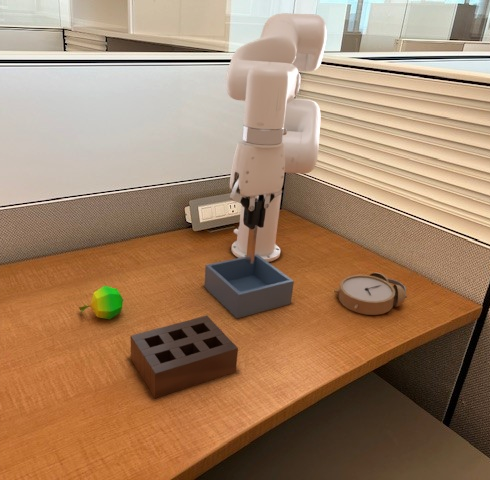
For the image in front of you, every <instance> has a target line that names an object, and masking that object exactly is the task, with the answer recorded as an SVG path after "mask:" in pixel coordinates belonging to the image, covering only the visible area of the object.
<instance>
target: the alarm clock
mask: <svg viewBox="0 0 490 480" xmlns="http://www.w3.org/2000/svg"><path fill="white" fill-rule="evenodd" d="M392 284H393V285H392ZM406 291H407V287H406V286H405V285H404V284H403V283H402V282H401V281H398V280H396V279H393V278H388V277H387V276H386V275H385V274H383V273H382V272H375V271H374V272H372V273H370V274H353V275H348V276H346V277H344V278H343V279H341V281H340V283H339V289H334V290H333V292H334V293H336V294H338V300H339V302H340V303H341V304H342V306H343V307H345V308H347V310H350V311H352V312H354V313H358V314H360V315H361V314H362V315H369V316H377V315H378V316H379V315H384V314H385V313H387V312H390V311H391V310H392V309H393V307H395V308H396V307H400V306H402V305H403V304H404V302H405V300H406V298H408V295H406Z"/></svg>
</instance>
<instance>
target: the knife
mask: <svg viewBox="0 0 490 480" xmlns="http://www.w3.org/2000/svg"><path fill="white" fill-rule="evenodd" d="M261 206H262V201H260V200H259V199H257V198H255V208H254V210H255V211H256V222H255V228H254V229H250V228H249V234H248V245H247V255H246V262H248V263H249V264H250V265H251V264H254V255H255V246H256V236H257V227H258V225H259V224H260V215H261Z"/></svg>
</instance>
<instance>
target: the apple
mask: <svg viewBox="0 0 490 480" xmlns="http://www.w3.org/2000/svg"><path fill="white" fill-rule="evenodd" d="M123 304H124V298H123V296H122V295H121V292H120V291H119V290H118V288H115V287H111V286H107V285H103V286H102V287H100V288H99V289H97V290H96V291H94V292H93V293H92V296H91V301H90V304H89V305H86V304H84V305H83V306H78V309H79V310H80V313H79V315H80V314H82V313H83V312H84V311H85V310H87V308H91V309H92V311H93V313H94V315H95V316H96V318H100V319H105V320H111V319H112V318H113V319H114V317H116V316H117V315H119V314H120V313H121V311H122V308H123Z"/></svg>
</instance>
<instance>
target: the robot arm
mask: <svg viewBox="0 0 490 480" xmlns="http://www.w3.org/2000/svg"><path fill="white" fill-rule="evenodd" d="M327 34H328V31H327V25H326V22H325V20H324V18H323V17H322V16H320V15H318V14H314V13H313V14H311V13H291V12H290V13H288V12H282V13H277V14H274V15H272V16H270V17H269V18H268V19H267V20H266V21H265V23H264V25H263V27H262V31H261V34H260V37H259V38H257V39H255V40H253V41H249V42H248V43H245V44H243V45H241V46H239V47H238V48H237V49H236V50H235V51H234V52H233V54H232V57H231V60H230V62H229V66H228V68H227V70H226V77H225V89H226V92H227V94H228V96H229V97H230V98H231V99H233V100H235V101H243V102H244V111H243V122H242V123H243V125H242V134H241V135H242V136H241V141H238V142H237V144H236V147H235V151H234V155H233V158H232V164H231V170H230V176H229V177H230V178H229V190H230V191H231V192H230V195H229V200H231V201H233V202H234V203H235V202H236V203H240V214H239V226H238V227H237V228H235V229H233V234H234V235H236V240H235V241H234V242H232V244H231V253H232V254H233V255H234V256H235V257H236V258H241V257H246V255H247V245H248V234H249V228H250V229H254V228H255V222H256V211H255V210H254V208H255V198H257V199H259V200H260V201H262V206H261V215H260V224H259V225H258V227H257V236H256V246H255V254H257V255H259V256H260V257H262V258H263V259H264V260H266V261H267V262H269V263H270V262H273V261H275V260H277V259H279V258H280V256H281V251H282V250H281V248H280V247H279V246H278V245H277V243H276V241H277V234H278V233H277V232H278V226H279V224H278V223H279V217H280V211H281V209H280V208H281V200H282V193H283V189H282V188H283V186H284V181H285V173H287V174H301V175H303V174H310V173H311V172H312V171H313V170H314V169H315V167H316V165H317V163H318V158H319V157H318V156H319V145H320V132H321V131H320V130H321V109H320V105H319V104H318V103H317V102H316V101H314V100H311V99H306V98H295V97H296V96H298V94H299V92H300V88H301V81H302V80H301V79H302V78H301V74H300V72H305V73H306V72H307V73H309V72H310V73H311V72H314V71H316V70H317V69H319V67H320V66H321V64H322V60H323V57H324V53H325V47H326V44H327V36H328V35H327Z"/></svg>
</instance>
